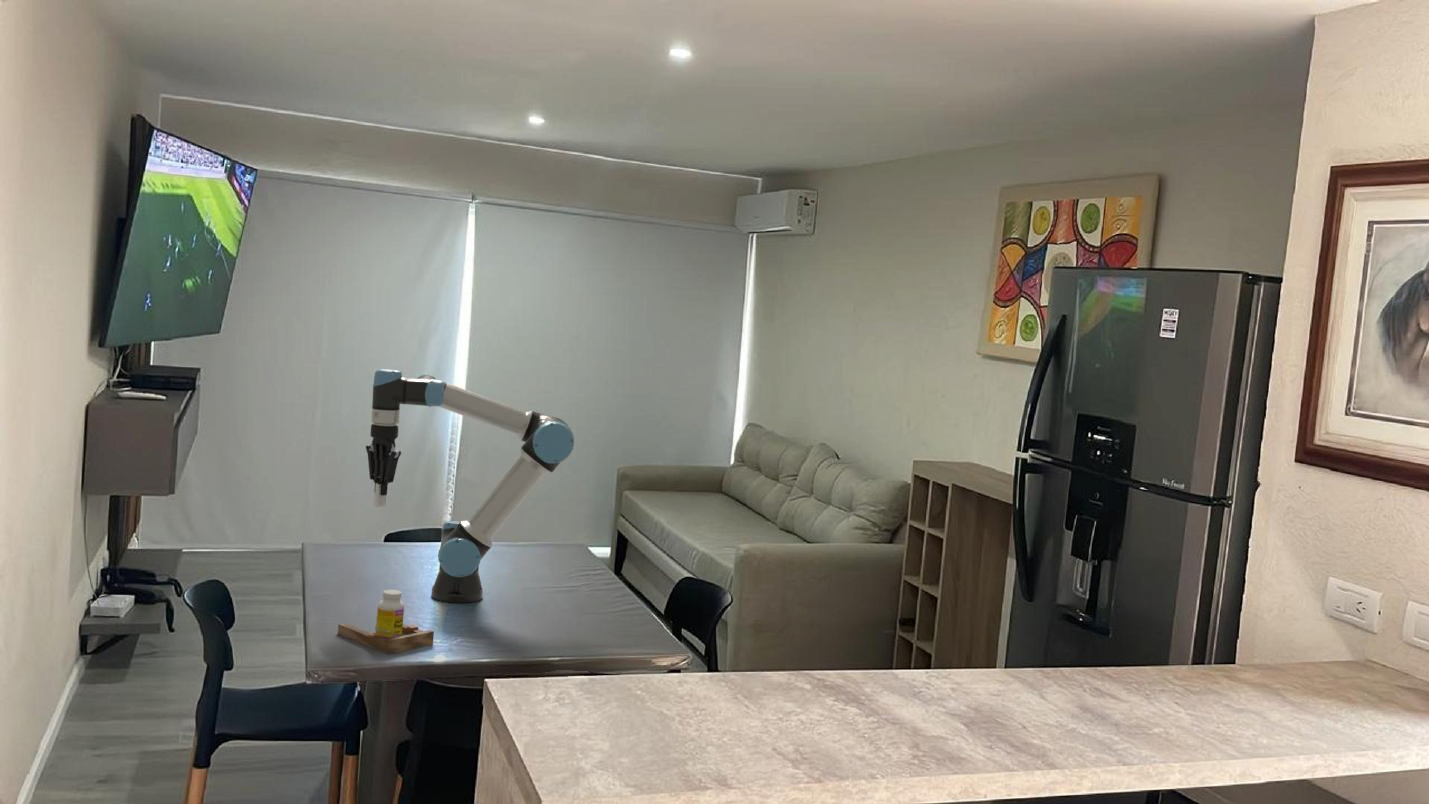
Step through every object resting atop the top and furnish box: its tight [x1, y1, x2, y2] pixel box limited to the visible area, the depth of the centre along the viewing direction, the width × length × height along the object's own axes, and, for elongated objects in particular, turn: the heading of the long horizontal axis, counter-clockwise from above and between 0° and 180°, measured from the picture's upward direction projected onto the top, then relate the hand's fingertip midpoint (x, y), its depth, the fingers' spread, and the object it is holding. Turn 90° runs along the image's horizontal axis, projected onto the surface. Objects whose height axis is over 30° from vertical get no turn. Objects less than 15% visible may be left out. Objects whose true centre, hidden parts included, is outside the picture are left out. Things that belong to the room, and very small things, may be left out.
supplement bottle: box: [375, 589, 405, 639], centre depth 297 cm, size 7×7×13 cm
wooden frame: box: [337, 621, 435, 655], centre depth 298 cm, size 14×22×4 cm, turn 53°
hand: (379, 505), depth 324 cm, fingers closed
